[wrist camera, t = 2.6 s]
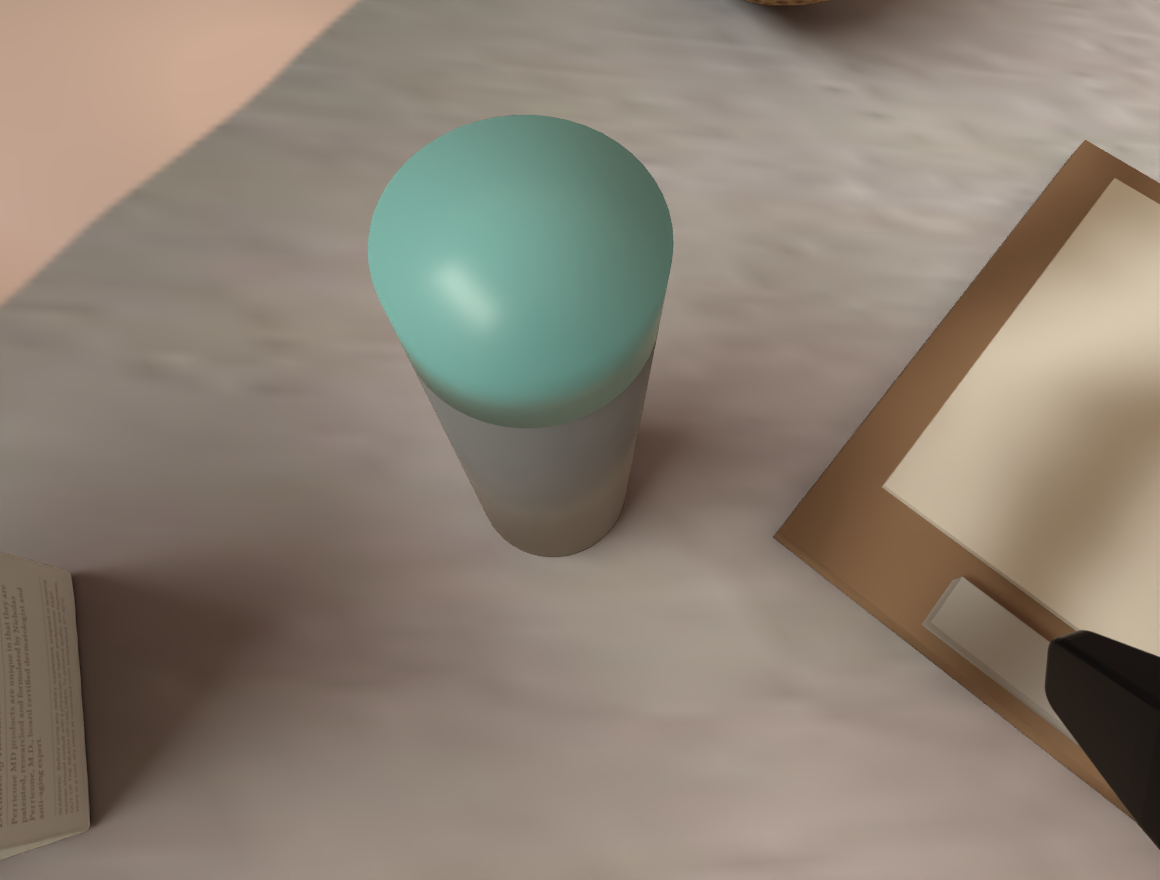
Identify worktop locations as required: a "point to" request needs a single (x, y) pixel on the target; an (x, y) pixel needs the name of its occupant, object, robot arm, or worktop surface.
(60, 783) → the supplement box
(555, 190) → the green-topped grey cylinder
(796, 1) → the brown potato
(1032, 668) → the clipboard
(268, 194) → the worktop surface
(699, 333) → the worktop surface
